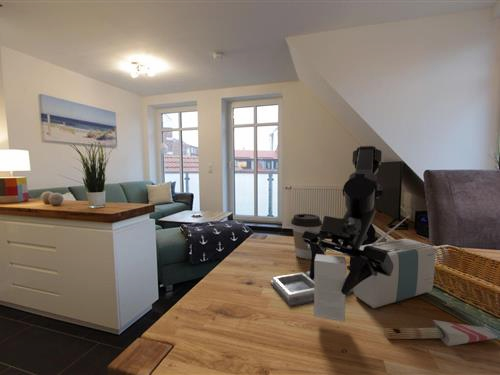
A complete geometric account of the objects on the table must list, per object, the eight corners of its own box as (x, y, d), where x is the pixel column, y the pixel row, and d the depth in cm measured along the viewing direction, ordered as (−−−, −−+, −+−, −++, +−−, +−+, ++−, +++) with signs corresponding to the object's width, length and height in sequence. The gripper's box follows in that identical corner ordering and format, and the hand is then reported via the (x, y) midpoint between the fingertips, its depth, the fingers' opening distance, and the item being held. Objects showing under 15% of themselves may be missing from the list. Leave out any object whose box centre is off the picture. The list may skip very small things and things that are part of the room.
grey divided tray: (331, 272, 76) (332, 254, 75) (360, 291, 64) (361, 270, 64) (270, 283, 69) (270, 263, 68) (290, 306, 57) (291, 283, 57)
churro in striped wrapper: (502, 332, 44) (390, 333, 45) (501, 346, 44) (390, 347, 45) (483, 318, 48) (380, 320, 49) (482, 331, 48) (380, 333, 49)
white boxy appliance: (375, 313, 55) (379, 228, 53) (348, 295, 62) (351, 220, 60) (434, 295, 62) (439, 220, 60) (404, 281, 70) (408, 213, 68)
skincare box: (343, 310, 51) (345, 256, 50) (344, 323, 47) (346, 264, 46) (314, 305, 53) (315, 253, 52) (313, 316, 49) (314, 260, 48)
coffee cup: (298, 248, 98) (298, 212, 96) (325, 254, 91) (326, 215, 90) (284, 257, 88) (285, 217, 87) (314, 264, 82) (315, 221, 80)
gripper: (306, 196, 57) (273, 252, 52) (390, 207, 43) (357, 286, 37) (324, 223, 63) (296, 276, 57) (404, 241, 49) (377, 313, 43)
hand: (325, 285), depth 49 cm, fingers closed on skincare box, 7 cm apart
